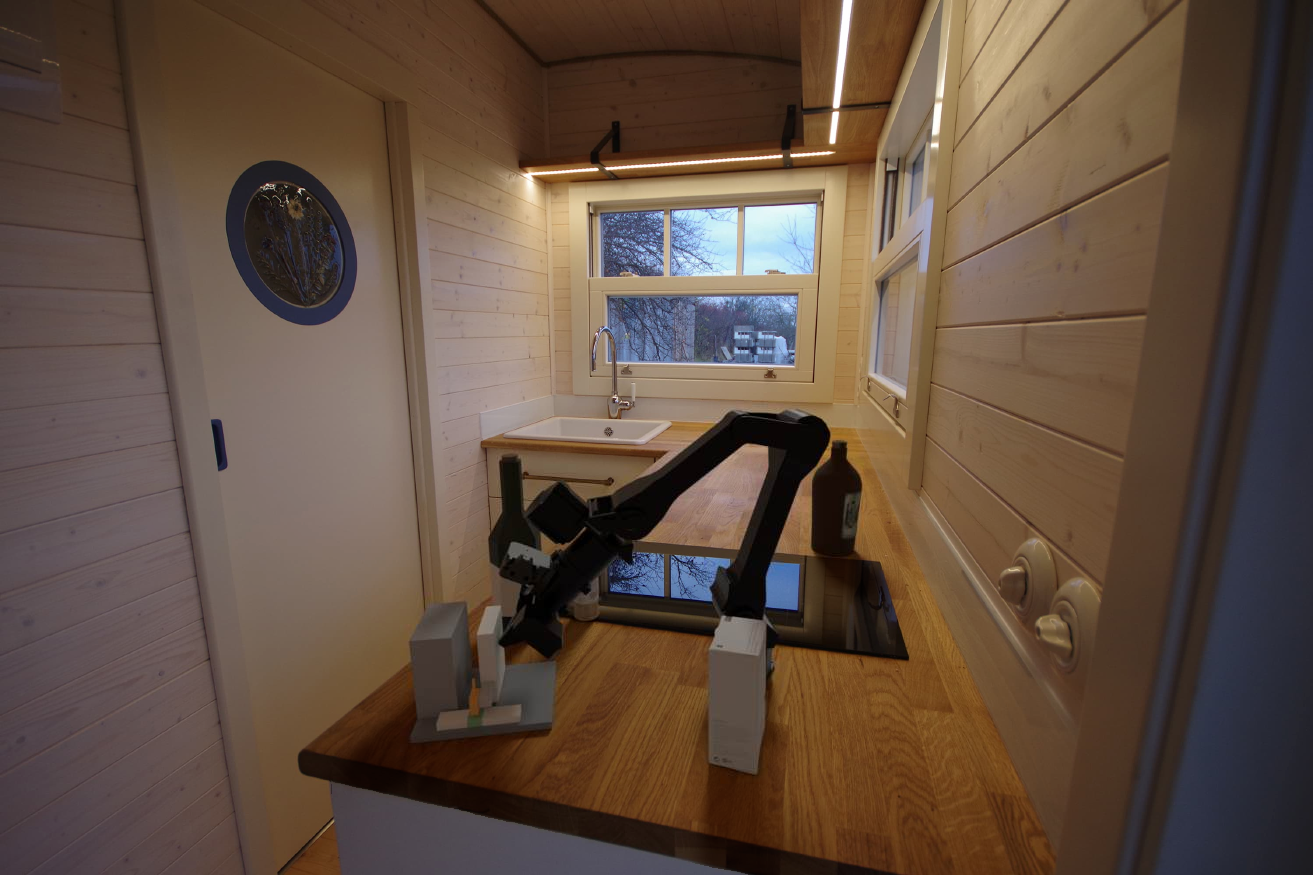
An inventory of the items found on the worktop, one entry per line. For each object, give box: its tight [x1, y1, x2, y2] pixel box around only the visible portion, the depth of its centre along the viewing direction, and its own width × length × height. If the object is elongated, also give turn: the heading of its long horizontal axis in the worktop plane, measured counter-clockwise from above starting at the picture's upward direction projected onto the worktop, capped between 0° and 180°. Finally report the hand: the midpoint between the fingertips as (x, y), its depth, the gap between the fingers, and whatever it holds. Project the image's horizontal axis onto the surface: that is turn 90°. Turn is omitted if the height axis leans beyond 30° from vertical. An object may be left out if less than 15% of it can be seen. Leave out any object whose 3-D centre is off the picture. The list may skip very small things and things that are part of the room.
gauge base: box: [408, 600, 558, 744], centre depth 70 cm, size 17×12×12 cm
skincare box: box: [707, 616, 767, 776], centre depth 63 cm, size 8×6×15 cm
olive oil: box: [810, 439, 863, 557], centre depth 118 cm, size 11×11×25 cm
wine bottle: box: [487, 452, 543, 632], centre depth 86 cm, size 8×8×30 cm
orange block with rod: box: [469, 678, 480, 715], centre depth 66 cm, size 1×2×4 cm, turn 8°
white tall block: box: [476, 605, 506, 708], centre depth 70 cm, size 2×10×10 cm, turn 8°
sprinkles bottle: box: [573, 576, 600, 622], centre depth 92 cm, size 5×5×14 cm
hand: (501, 644), depth 71 cm, fingers closed, pressing on white tall block
